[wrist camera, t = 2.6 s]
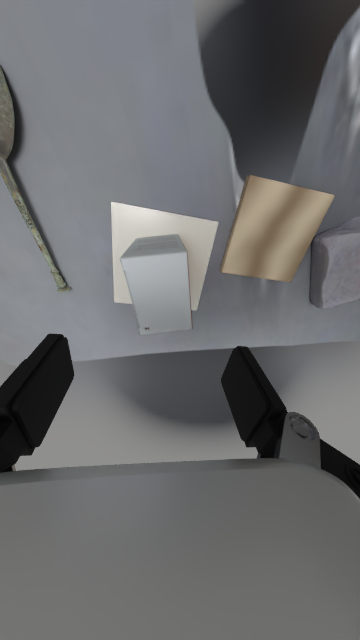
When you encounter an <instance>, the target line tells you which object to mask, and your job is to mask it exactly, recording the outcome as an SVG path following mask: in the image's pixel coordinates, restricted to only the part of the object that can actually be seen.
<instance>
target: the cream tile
mask: <svg viewBox="0 0 360 640" xmlns="http://www.w3.org/2000/svg"><path fill="white" fill-rule="evenodd" d="M111 214H112V247H113V279H114V302H117V303H127V304H132V300H131V297H130V293H129V289H128V285H127V282H126V278H125V275H124V271H123V268H122V265H121V262H120V257H121V256H122V255H123V254H124V253H125V251H126V250H127V249H128V248H129V246H130V245H131V244H132V243H133V242H134V241H135V239H136V238H142V237H151V236H161V235H171V234H178V235H179V237H180V239H181V241H182V243H183V244H184V246H185V248H186V250H187V252H188V265H189V281H190V296H191V310H194V311H197V307H198V303H199V299H200V295H201V291H202V287H203V283H204V279H205V275H206V271H207V267H208V263H209V259H210V255H211V251H212V247H213V243H214V239H215V235H216V231H217V226H218V222H216V221H211V220H206V219H200V218H195V217H190V216H184V215H179V214H174V213H169V212H163V211H158V210H153V209H147V208H142V207H137V206H132V205H126V204H121V203H116V202H111Z"/></svg>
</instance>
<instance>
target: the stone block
mask: <svg viewBox="0 0 360 640" xmlns="http://www.w3.org/2000/svg"><path fill="white" fill-rule="evenodd" d="M310 279H311V285H310V300H311V302H312V304H313V305H315V306H316V307H318V308H321V309H328V308H331V307H334V306H338V305H340V304H344V303H347V302H350V301H354V300H356V299H359V298H360V216H358V217H354V218H353V219H351V220H349V221H348V222H345V223H343V224H342V225H341V226H339V227H336V228H332V229H329V230H327V231H325V232H323V233H321V234H319V235H317V236H315V237H314V238H313V241H312V248H311V278H310Z"/></svg>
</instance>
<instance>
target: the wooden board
mask: <svg viewBox="0 0 360 640" xmlns="http://www.w3.org/2000/svg"><path fill="white" fill-rule="evenodd" d="M334 197H335V195H332V194H328V193H324V192H319V191H315V190H311V189H307V188H303V187H299V186H294V185H290V184H286V183H282V182H278V181H273V180H269V179H265V178H261V177H257V176H253V175H249V176H247V177H246V181H245V184H244V188H243V191H242V195H241V198H240V202H239V205H238V209H237V212H236V216H235V219H234V223H233V226H232V230H231V233H230V237H229V240H228V244H227V247H226V251H225V254H224V258H223V261H222V265H221V268H220V271H221V272H222V273H229V274H236V275H243V276H250V277H257V278H264V279H271V280H278V281H285V282H291V280H292V278H293V276H294V275H295V273H296V271H297V269H298V267H299V265H300V263H301V261H302V259H303V257H304V255H305V253H306V251H307V249H308V247H309V245H310V243H311V241H312V239H313V238H314V236H315V234H316V232H317V230H318V228H319V226H320V224H321V222H322V220H323V218H324V216H325V214H326V212H327V210H328V208H329V206H330V204H331V202H332V201H333V199H334Z"/></svg>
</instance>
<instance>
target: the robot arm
mask: <svg viewBox="0 0 360 640" xmlns="http://www.w3.org/2000/svg"><path fill="white" fill-rule="evenodd" d="M73 377H74V370H73V365H72V360H71V355H70V350H69V345H68V340H67V338H66V337H64V336H63V335H62V334H48V335H47V336H46V337H45V339H44V340H43V341H42V342H41V343H40V344H39V345H38V347H37V348H36V349H35V350H34V351H33V352H32V354H31V355H30V356H29V357H28V358H27V359H25V360H24V361H23V362H22V363H21V364H20V365H19V366H18V367H17V369H16V370H15V371H14V372H13V373H12V374H11V375H10V376H9V378H8V379H7V380H6V381H5V382H4V383H3V385H2V386H1V387H0V640H360V465H359V464H358V463H356V462H355V461H353V460H352V459H350V458H349V457H347V456H346V455H344V454H343V453H341V452H340V451H338V450H337V449H335V448H334V447H332V446H330V445H329V444H327V443H326V442H324V441H323V440H321V439H320V436H319V432H318V431H317V429H316V427H315V426H314V425H313V423H312V422H311V421H310V420H309V419H307V418H306V417H304V416H303V415H301V414H299V413H296V412H289V413H288V412H287V410H286V407H285V405H284V404H283V402H282V401H281V399H280V397H279V396H278V394H277V393H276V391H275V390H274V388H273V386H272V385H271V383H270V382H269V380H268V378H267V377H266V376H265V374H264V372H263V370H262V369H261V367H260V366H259V364H258V363H257V361H256V359H255V358H254V356H253V355H252V353H251V351H250V350H249V348H248V347H244V346H237V347H236V348H234V349H233V351H232V354H231V356H230V359H229V361H228V363H227V366H226V368H225V371H224V373H223V375H222V378H221V383H222V386H223V389H224V392H225V395H226V398H227V400H228V403H229V406H230V409H231V412H232V415H233V418H234V420H235V423H236V426H237V429H238V431H239V434H240V437H241V439H242V440H243V441H244V442H245V444H246V447H256V449H257V451H258V455H257V459H228V460H205V461H181V462H161V463H140V464H121V465H101V466H82V467H63V468H49V469H35V470H23V471H22V470H21V471H16V469H15V465H14V464H15V463H16V462H17V461H18V459H19V457H20V456H23V455H24V456H26V455H32V453H33V451H34V449H35V447H39V446H40V444H41V443H42V441H43V439H44V437H45V435H46V433H47V431H48V429H49V427H50V425H51V423H52V421H53V419H54V417H55V415H56V413H57V410H58V409H59V407H60V405H61V403H62V401H63V398H64V397H65V394H66V392H67V390H68V388H69V386H70V384H71V382H72V380H73Z"/></svg>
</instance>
